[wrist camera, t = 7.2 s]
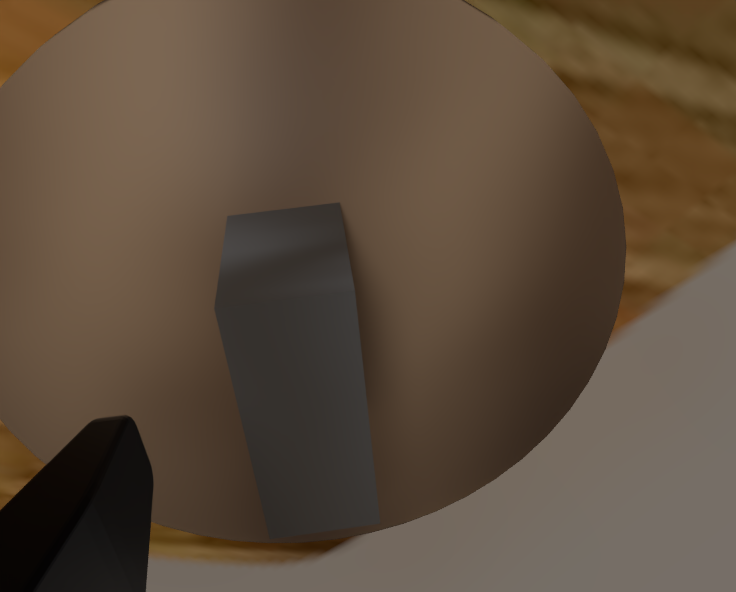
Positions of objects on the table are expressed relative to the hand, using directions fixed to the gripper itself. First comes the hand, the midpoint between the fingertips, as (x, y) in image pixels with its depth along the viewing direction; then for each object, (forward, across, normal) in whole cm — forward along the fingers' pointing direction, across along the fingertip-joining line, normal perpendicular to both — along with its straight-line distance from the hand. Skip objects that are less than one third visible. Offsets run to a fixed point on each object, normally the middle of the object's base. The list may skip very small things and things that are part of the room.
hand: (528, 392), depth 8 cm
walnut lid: (+6, +3, +2) cm, 7 cm away
